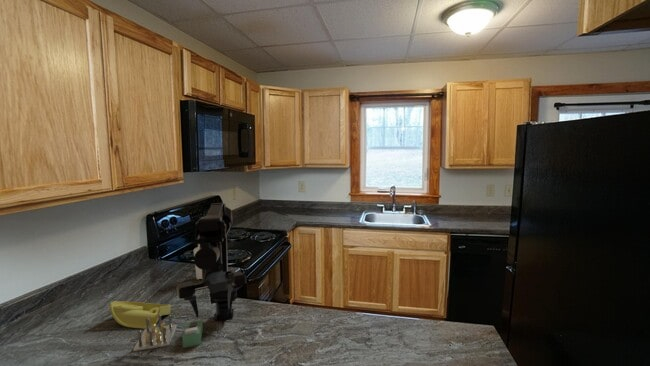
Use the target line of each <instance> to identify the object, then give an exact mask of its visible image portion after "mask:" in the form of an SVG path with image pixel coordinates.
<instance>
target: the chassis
mask: <svg viewBox="0 0 650 366" xmlns="http://www.w3.org/2000/svg"><path fill="white" fill-rule="evenodd" d="M158 318H159V319H158V326H157V324H156V323H154V324H151V328H149V318H146V327H147V329H144V330H143V332H142V330H138V331H137V337H138V340H137V342H136V343H135V345H134V347H133V348H132V351H133V352H138V351H143V350H150V349H156V348H162V347H168V346H170V343H171V341H172V339H173V336H174V334H175V331H176V329H177V327H178V326H177V324H172V323H173V321H172V314H168V325H167V323H166V321H163V322H162V316H161V314H160V315H158Z"/></svg>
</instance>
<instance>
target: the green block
mask: <svg viewBox="0 0 650 366" xmlns="http://www.w3.org/2000/svg"><path fill="white" fill-rule="evenodd" d="M203 329H204V328H203V320H202V319H200V320H195V321H189V322H186V323H185V326H184V330H183V333H182V337H181V338H182V348H183V349H185V348H188V347H194V346H199V345H201V341H202V335H203V333H204V330H203Z"/></svg>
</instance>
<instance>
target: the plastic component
mask: <svg viewBox="0 0 650 366" xmlns="http://www.w3.org/2000/svg"><path fill="white" fill-rule="evenodd" d="M171 309H172V305H170V304H160V303H152V302H151V303H150V302H149V303H148V302H137V301H122V300H121V301H120V300H119V301H111V302H109V310H110V315H111V316H112V318H113V319H114V320H115V321H116V322H117V323H118V324H119V325H121V326H123V327H126V328H134V329H144V330H145V329H147V327H146V318H149V328H151V324H154V323H156V325H157V323H159V318H158V315H160V314H161V317H162V316H166V315H168V316H169V315H170V314H171Z"/></svg>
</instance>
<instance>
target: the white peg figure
mask: <svg viewBox="0 0 650 366" xmlns="http://www.w3.org/2000/svg"><path fill="white" fill-rule="evenodd" d="M199 249H200V244H197V247H195V248H194V249H193V257H194V256H195V254H196V252H197V251H198V250H199ZM194 267H195V277H196V280H199V279H202V269H199V268H198V267H197V266H196V265H195V264H194Z"/></svg>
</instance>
